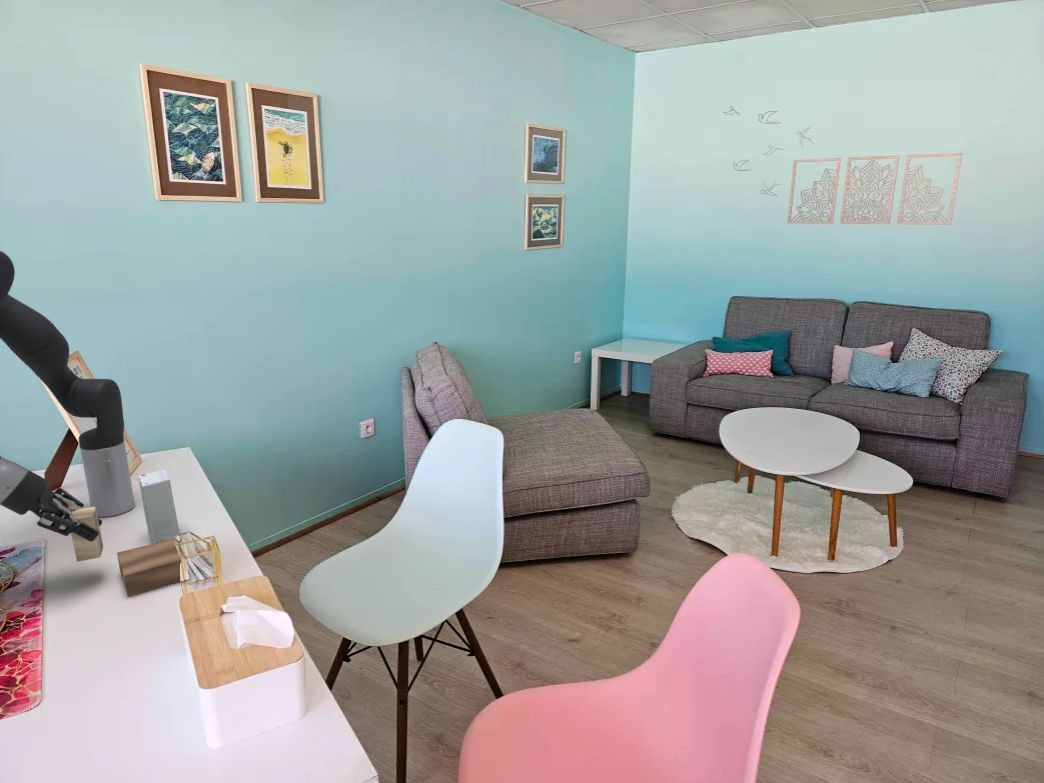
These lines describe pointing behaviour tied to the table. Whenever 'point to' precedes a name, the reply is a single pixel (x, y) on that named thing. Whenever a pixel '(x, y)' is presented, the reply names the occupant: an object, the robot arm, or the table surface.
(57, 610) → the table surface
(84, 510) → the oak post
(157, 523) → the skincare box
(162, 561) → the walnut block
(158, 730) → the table surface
